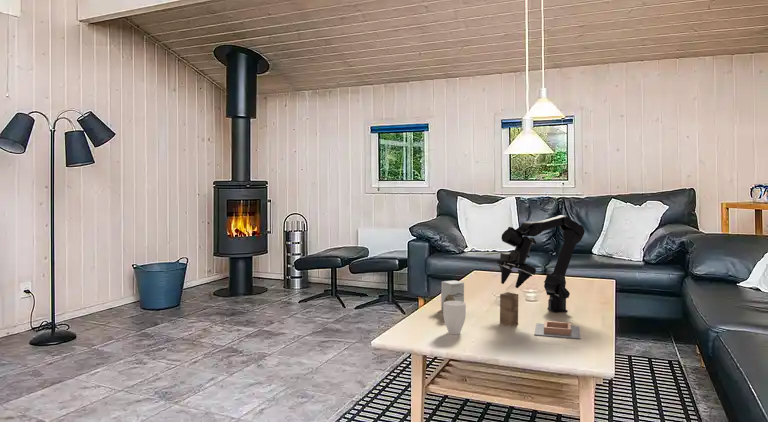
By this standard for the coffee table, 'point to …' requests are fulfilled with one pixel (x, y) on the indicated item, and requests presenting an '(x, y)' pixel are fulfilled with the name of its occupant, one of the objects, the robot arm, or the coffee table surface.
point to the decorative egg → (448, 299)
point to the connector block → (509, 309)
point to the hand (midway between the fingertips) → (509, 285)
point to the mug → (454, 316)
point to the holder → (557, 330)
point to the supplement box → (452, 290)
